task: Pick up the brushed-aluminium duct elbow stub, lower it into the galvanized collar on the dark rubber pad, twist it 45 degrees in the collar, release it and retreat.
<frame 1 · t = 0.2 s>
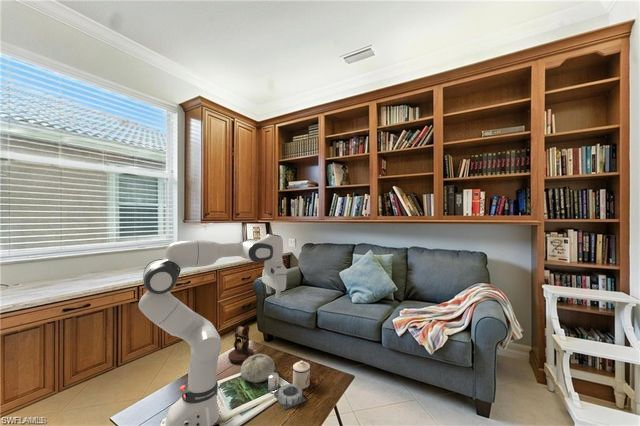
hand: (272, 295, 129), 47 cm above the table, fingers open, 8 cm apart
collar: (290, 398, 125), on the table
decorative shell: (257, 377, 141), on the table
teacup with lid: (301, 382, 137), on the table
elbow: (273, 389, 131), on the table
carved wooden figurine: (241, 358, 159), on the table
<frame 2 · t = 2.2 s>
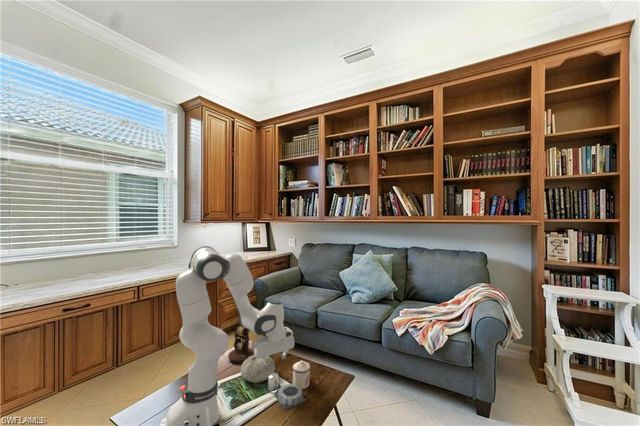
hand: (274, 361, 132), 14 cm above the table, fingers open, 8 cm apart
nothing on the table moved.
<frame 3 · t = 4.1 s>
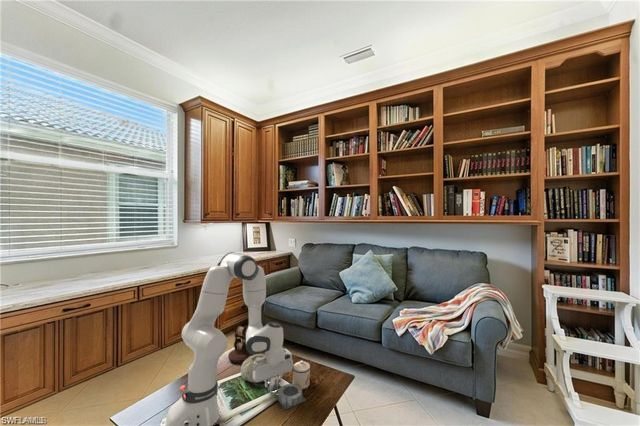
hand: (273, 384, 131), 3 cm above the table, fingers closed on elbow, 5 cm apart
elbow: (273, 389, 131), on the table, touching gripper
everything else where it was.
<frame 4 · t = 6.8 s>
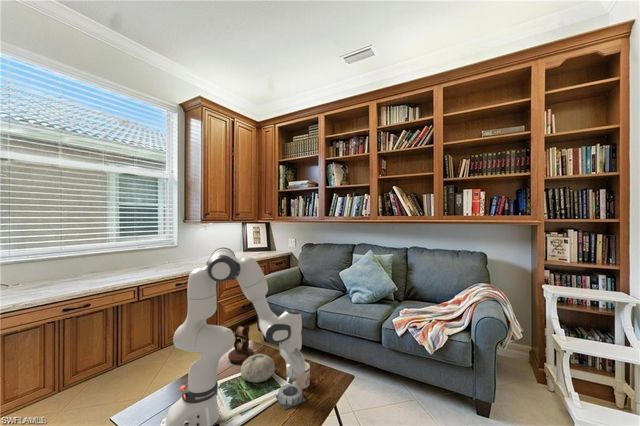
hand: (291, 373, 125), 12 cm above the table, fingers closed on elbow, 5 cm apart
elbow: (291, 378, 125), point 9 cm above the table, touching gripper
everything else where it was.
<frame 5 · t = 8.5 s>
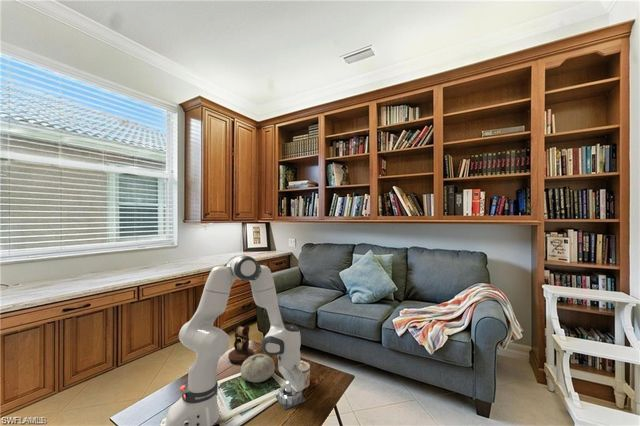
hand: (290, 390, 126), 3 cm above the table, fingers closed on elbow, 5 cm apart
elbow: (290, 395, 126), point 1 cm above the table, touching gripper
everything else where it was.
when the fingers open (3 cm above the table, at t = 9.7 s): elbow stays where it is, resting on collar.
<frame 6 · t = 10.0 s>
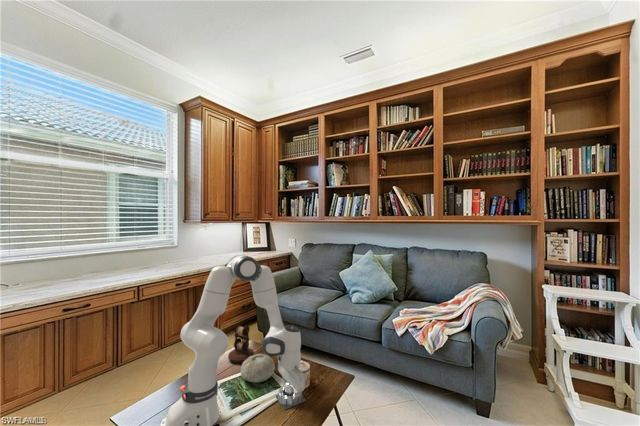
hand: (290, 390, 125), 3 cm above the table, fingers open, 8 cm apart
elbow: (290, 397, 125), resting on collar
everything else where it was.
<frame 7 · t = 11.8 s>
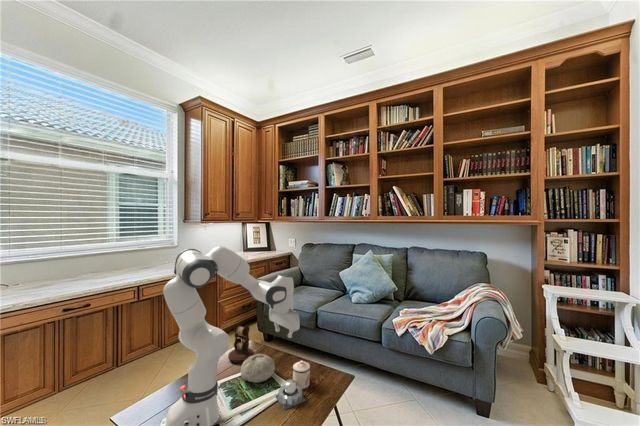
hand: (283, 334, 134), 26 cm above the table, fingers open, 8 cm apart
nothing on the table moved.
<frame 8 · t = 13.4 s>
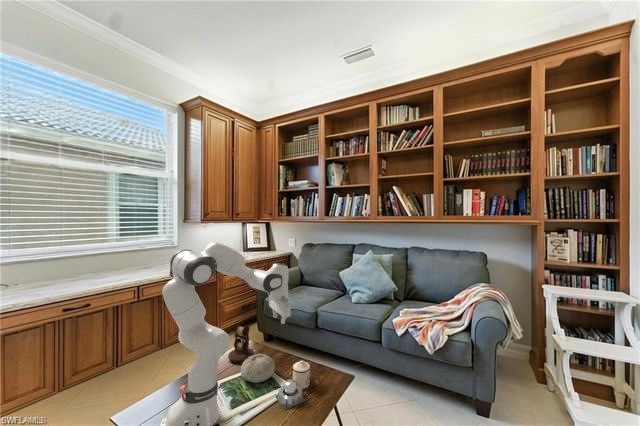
hand: (279, 320, 139), 31 cm above the table, fingers open, 8 cm apart
nothing on the table moved.
at the end: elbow 0.1 cm off-centre on the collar, point 0.4 cm above the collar's base; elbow tilted 1°; the gripper is holding nothing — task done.
